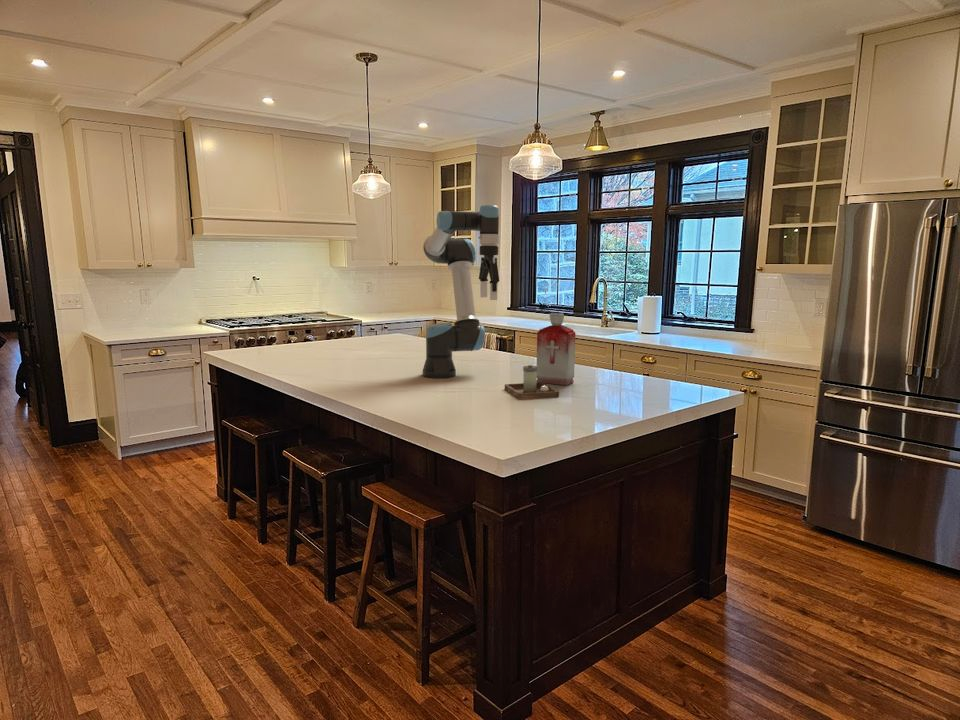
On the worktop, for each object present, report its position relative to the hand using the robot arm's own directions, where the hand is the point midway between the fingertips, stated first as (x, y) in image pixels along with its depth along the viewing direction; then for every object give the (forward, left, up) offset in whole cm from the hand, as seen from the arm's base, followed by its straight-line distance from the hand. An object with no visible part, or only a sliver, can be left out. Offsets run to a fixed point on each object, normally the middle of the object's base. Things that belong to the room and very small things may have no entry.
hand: (488, 298), depth 252 cm
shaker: (+15, +13, -36) cm, 41 cm away
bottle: (0, +30, -37) cm, 48 cm away
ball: (+20, +17, -36) cm, 45 cm away
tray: (+16, +13, -37) cm, 42 cm away
